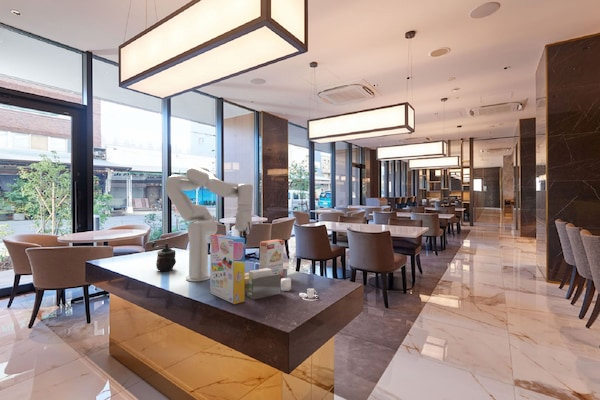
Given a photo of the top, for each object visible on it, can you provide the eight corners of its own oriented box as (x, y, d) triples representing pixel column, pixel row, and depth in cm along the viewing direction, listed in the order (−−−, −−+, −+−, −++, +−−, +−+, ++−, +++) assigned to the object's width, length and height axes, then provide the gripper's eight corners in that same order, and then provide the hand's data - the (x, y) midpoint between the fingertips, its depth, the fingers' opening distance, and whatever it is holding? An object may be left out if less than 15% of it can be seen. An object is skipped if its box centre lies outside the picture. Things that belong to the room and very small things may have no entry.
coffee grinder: (145, 272, 173) (145, 242, 173) (165, 267, 187) (165, 238, 187) (162, 275, 168) (162, 243, 168) (181, 269, 182) (181, 240, 182)
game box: (245, 302, 126) (245, 237, 126) (233, 305, 122) (234, 239, 122) (220, 290, 140) (220, 233, 140) (209, 293, 137) (210, 234, 137)
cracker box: (267, 282, 156) (267, 242, 156) (258, 280, 160) (259, 241, 160) (283, 276, 168) (284, 239, 168) (275, 274, 171) (276, 238, 171)
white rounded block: (278, 288, 145) (278, 278, 145) (287, 287, 148) (287, 277, 148) (284, 291, 141) (284, 281, 141) (293, 289, 144) (293, 279, 144)
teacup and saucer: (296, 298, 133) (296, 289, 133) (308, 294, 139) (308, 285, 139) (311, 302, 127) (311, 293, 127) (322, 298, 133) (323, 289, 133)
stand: (233, 288, 145) (233, 269, 145) (258, 283, 153) (258, 266, 153) (253, 299, 129) (253, 278, 129) (280, 293, 137) (280, 274, 137)
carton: (248, 270, 137) (253, 272, 134) (267, 268, 143) (272, 269, 140) (248, 290, 137) (252, 292, 134) (267, 286, 143) (271, 288, 140)
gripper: (231, 207, 155) (229, 242, 155) (244, 209, 143) (242, 247, 143) (244, 207, 159) (242, 241, 160) (258, 209, 147) (256, 246, 148)
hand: (242, 243), depth 151 cm, fingers closed
